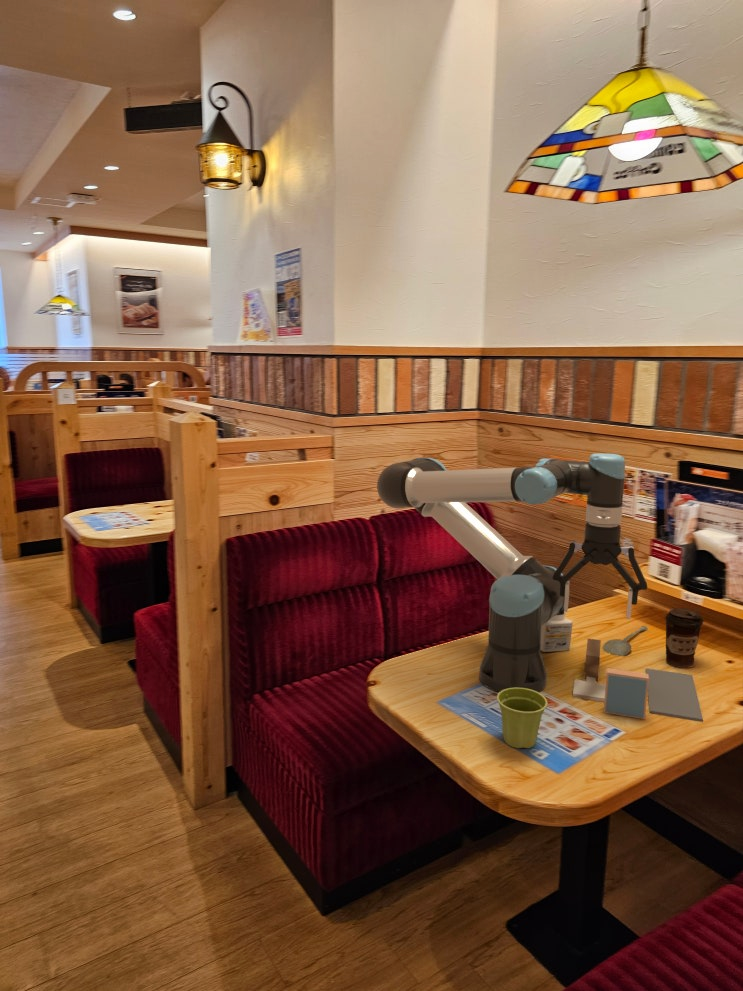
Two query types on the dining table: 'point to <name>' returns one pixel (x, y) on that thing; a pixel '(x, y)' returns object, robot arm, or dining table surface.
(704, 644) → the dining table surface
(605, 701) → the tile
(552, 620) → the container
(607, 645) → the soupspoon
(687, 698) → the mat
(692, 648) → the coffee cup
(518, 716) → the plant pot
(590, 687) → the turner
